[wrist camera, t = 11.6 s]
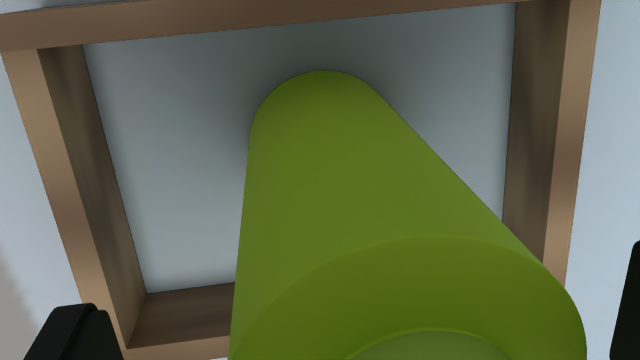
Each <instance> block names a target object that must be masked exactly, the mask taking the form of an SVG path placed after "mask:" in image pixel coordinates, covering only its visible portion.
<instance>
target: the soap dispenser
mask: <svg viewBox="0 0 640 360" xmlns="http://www.w3.org/2000/svg"><path fill="white" fill-rule="evenodd" d="M228 360H587V346H586V337H585V332H584V327H583V323H582V320H581V317H580V315H579V312H578V310H577V308H576V306H575V304H574V302H573V300H572V299H571V297H570V295H569V294H568V292H567V291H566V290H565V288H564V287H563V286H562V284H561V283H560V282H559V281H558V280H557V279H556V278H555V277H554V275H553V274H552V273H551V272H550V271H549V270H548V269H547V268H546V267H545V266H544V265H543V264H542V263H541V262H540V261H539V260H538V259H537V258H536V257H535V256H534V255H533V254H532V253H531V252H530V251H529V250H528V248H527V247H526V246H525V245H524V244H523V243H522V242H521V241H520V240H519V239H518V238H517V237H516V236H515V235H514V234H513V233H512V232H511V231H510V230H509V229H508V228H507V227H506V226H505V225H504V224H503V222H502V221H501V220H500V219H499V218H498V217H497V216H496V215H495V214H494V213H493V212H492V211H491V210H490V209H489V208H488V207H487V206H486V205H485V204H484V203H483V202H482V201H481V200H480V199H479V198H478V197H477V195H476V194H475V193H474V192H473V191H472V190H471V189H470V188H469V187H468V186H467V185H466V184H465V183H464V182H463V181H462V180H461V179H460V178H459V177H458V176H457V175H456V174H455V173H454V172H453V171H452V170H451V168H450V167H449V166H448V165H447V164H446V163H445V162H444V161H443V160H442V159H441V158H440V157H439V156H438V155H437V154H436V153H435V152H434V151H433V150H432V149H431V148H430V147H429V146H428V145H427V144H426V142H425V141H424V140H423V139H422V138H421V137H420V136H419V135H418V134H417V133H416V132H415V131H414V130H413V129H412V128H411V127H410V126H409V125H408V124H407V123H406V122H405V121H404V120H403V119H402V118H401V117H400V115H399V114H398V113H397V112H396V111H395V110H394V109H393V108H392V107H391V106H390V105H389V104H388V103H387V102H386V101H385V100H384V99H383V98H382V97H381V96H380V95H379V94H378V93H377V92H376V91H375V90H374V89H373V88H372V87H371V86H370V85H368V84H367V83H365V82H364V81H362V80H360V79H359V78H357V77H354V76H352V75H349V74H346V73H343V72H338V71H329V70H321V71H312V72H307V73H303V74H300V75H297V76H295V77H293V78H291V79H289V80H287V81H285V82H284V83H282V84H281V85H279V86H278V87H277V88H275V89H274V90H273V91H272V92H271V93H270V94H269V95H268V96H267V97H266V98H265V100H264V101H263V102H262V104H261V105H260V107H259V109H258V111H257V113H256V115H255V117H254V120H253V123H252V126H251V131H250V138H249V148H248V158H247V168H246V178H245V188H244V198H243V208H242V218H241V229H240V239H239V249H238V259H237V269H236V279H235V289H234V299H233V309H232V319H231V330H230V340H229V350H228Z"/></svg>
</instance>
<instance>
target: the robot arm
mask: <svg viewBox="0 0 640 360" xmlns="http://www.w3.org/2000/svg"><path fill="white" fill-rule="evenodd" d="M609 356H610V360H640V240H639V241H637V242H636V243H635V244H634V246H633V248H632V253H631V257H630V262H629V266H628V271H627V275H626V280H625V285H624V289H623V294H622V298H621V303H620V307H619V312H618V316H617V321H616V325H615V330H614V334H613V339H612V344H611V348H610V355H609ZM23 360H124V358H123V355H122V352H121V349H120V346H119V343H118V340H117V337H116V334H115V331H114V328H113V325H112V322H111V319H110V316H109V314H108V312H107V311H106V310H98V308H97V306H96V305H95V304H94V303H83V304H75V305H67V306H60V307H56V308H54V310H53V311H52V312H51V313H50V315H49V317H48V319H47V320H46V322H45V324H44V325H43V327H42V329H41V330H40V332H39V334H38V336H37V337H36V339H35V341H34V342H33V344H32V346H31V348H30V349H29V351H28V352H27V354H26V356H25V358H24V359H23Z"/></svg>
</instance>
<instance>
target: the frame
mask: <svg viewBox="0 0 640 360" xmlns="http://www.w3.org/2000/svg"><path fill="white" fill-rule="evenodd" d="M510 2H517V12H516V27H515V42H514V57H513V72H512V87H511V102H510V117H509V132H508V148H507V163H506V178H505V193H504V208H503V224H504V225H505V226H506V227H507V228H508V229H509V230H510V231H511V232H512V233H513V234H514V235H515V236H516V237H517V238H518V239H519V240H520V241H521V242H522V243H523V244H524V245H525V246H526V247H527V248H528V250H529V251H530V252H531V253H532V254H533V255H534V256H535V257H536V258H537V259H538V260H539V261H540V262H541V263H542V264H543V265H544V266H545V267H546V268H547V269H548V270H549V271H550V272H551V273H552V274H553V275H554V277H555V278H556V279H557V280H558V281H559V282H560V283H561V284H562V286H563V287H565V279H566V272H567V264H568V256H569V248H570V240H571V233H572V225H573V217H574V209H575V202H576V194H577V186H578V178H579V170H580V163H581V155H582V147H583V139H584V131H585V124H586V116H587V108H588V100H589V93H590V85H591V77H592V69H593V61H594V54H595V46H596V38H597V30H598V22H599V15H600V7H601V0H122V1H111V2H100V3H89V4H79V5H68V6H57V7H46V8H38V9H31V10H24V11H17V12H11V13H4V14H0V53H1V56H2V59H3V62H4V65H5V68H6V71H7V75H8V78H9V81H10V84H11V87H12V90H13V93H14V96H15V99H16V102H17V105H18V108H19V111H20V114H21V117H22V120H23V123H24V126H25V129H26V132H27V135H28V139H29V142H30V145H31V148H32V151H33V154H34V157H35V160H36V163H37V166H38V169H39V172H40V175H41V178H42V181H43V184H44V187H45V190H46V193H47V196H48V199H49V203H50V206H51V209H52V212H53V215H54V218H55V221H56V224H57V227H58V230H59V233H60V236H61V239H62V242H63V245H64V248H65V251H66V254H67V257H68V260H69V263H70V267H71V270H72V273H73V276H74V279H75V282H76V285H77V288H78V291H79V294H80V297H81V300H82V303H94V304H95V305H96V306H97V308H98V310H106V311H107V312H108V314H109V316H110V319H111V322H112V325H113V328H114V331H115V334H116V337H117V340H118V343H119V346H120V349H121V352H122V355H123V358H124V360H210V359H217V358H224V357H228V350H229V340H230V330H231V319H232V309H233V299H234V289H235V283H229V284H222V285H214V286H206V287H198V288H191V289H183V290H175V291H167V292H160V293H152V294H147V293H146V289H145V286H144V282H143V278H142V274H141V270H140V267H139V263H138V259H137V255H136V252H135V248H134V244H133V240H132V236H131V233H130V229H129V225H128V221H127V218H126V214H125V210H124V206H123V202H122V199H121V195H120V191H119V187H118V184H117V180H116V176H115V172H114V168H113V165H112V161H111V157H110V153H109V150H108V146H107V142H106V138H105V134H104V131H103V127H102V123H101V119H100V116H99V112H98V108H97V104H96V100H95V97H94V93H93V89H92V85H91V82H90V78H89V74H88V70H87V67H86V63H85V59H84V55H83V51H82V48H81V44H91V43H102V42H112V41H122V40H132V39H143V38H153V37H163V36H173V35H183V34H194V33H204V32H214V31H224V30H234V29H245V28H255V27H265V26H275V25H285V24H296V23H306V22H316V21H326V20H337V19H347V18H357V17H367V16H377V15H388V14H398V13H408V12H418V11H428V10H439V9H449V8H459V7H469V6H479V5H490V4H500V3H510Z"/></svg>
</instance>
